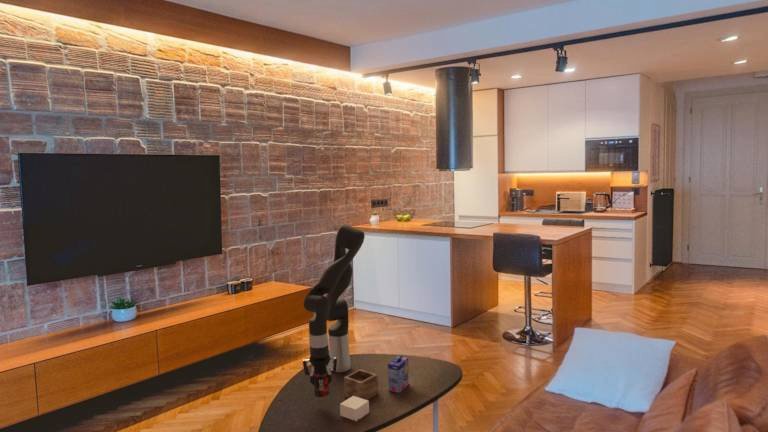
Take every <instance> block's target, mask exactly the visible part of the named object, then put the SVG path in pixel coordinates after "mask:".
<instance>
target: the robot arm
mask: <svg viewBox="0 0 768 432" xmlns="http://www.w3.org/2000/svg"><path fill="white" fill-rule="evenodd" d="M364 240H365V232H364V231H362V230H360V229H358V228H355V227H352V226H350V225H347V224H342V225H341V226H340V227H339V228H338V231H337V232H336V237H335V242H334V243H335V244H334V246H335V247H334V257H333V261H332V263H330V264H329V265H328V266H327V267H326V268H325V269H324V270H323V272H322V274H321V276H320V278H319V279H318V282H317V283H316V284H315V285H314V286H312V288H311V289H310V290H309V291H308V292H307V294H306V295H305V297H304V299H303V308H304V310H306V311H307V312H310V313H315V316H314V317H312V318H310V319H309V320H308V331H309V333H308V342H309V358H308V359H307V358H303V359H302V366H303V370H304V374H305V376H309V381H310V384H311V385H313V386H314V376H313V374H314V366H313V360H326V359H327V365H328V366H327V365H326V371H327V372H328V384H329V385H330V384H331V383H332V381H333V376H332V375H333V374H335V373H343V372H347V371H349V370H350V369H351V357H350V341H349V340H350V339H349V305H348V302H347V301H346V299H344V298H340V297H341V296H342V295H343V293H344V292H346V290H347V289H348V287H349V286H350V285H351V281H352V277H353V267H352V264H351V263H352V261H353V259H354V258H355V257H356V255H357V253H358V252H359V251H360V249H362V248H361V247H362V246H363V243H364ZM346 249H347V250H348V251H347V252H346ZM325 295H326V296H325ZM334 321H335V322H334ZM327 322H334V324H331V325H330V326H329V327H328V324H327ZM309 363H310V364H311V366H312V367H311V369H310V370H309V368H308V365H309Z"/></svg>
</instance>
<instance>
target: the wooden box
mask: <svg viewBox="0 0 768 432" xmlns="http://www.w3.org/2000/svg"><path fill="white" fill-rule="evenodd" d="M343 385H344V397H346V398H347V399H349V398H350V397H352V396H356V397H359V398H362V399H365V400H368V401H369V399H372V398H373V397H375V396H377V395H379V393H380V392H379V377H378V374H377V373H374V372H371V371H369V370H365V369H361V368H359V369H357V370H355V371H353V372H351V373H350V374H347V375H346V376H343Z"/></svg>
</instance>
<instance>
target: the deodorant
mask: <svg viewBox="0 0 768 432" xmlns="http://www.w3.org/2000/svg"><path fill="white" fill-rule="evenodd" d="M326 365H327V359H326V360H313V365H312V366H314V374H313V376H314V385H313V389H314V391H313V392H314V396H315V397H316V398H319V399H320V398H326V397H328V396H329V395H330V384H328V372H327V371H326ZM328 365H329V364H328ZM328 365H327V366H328Z"/></svg>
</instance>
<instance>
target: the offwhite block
mask: <svg viewBox="0 0 768 432" xmlns="http://www.w3.org/2000/svg"><path fill="white" fill-rule="evenodd" d="M339 412H340V417H343V418H346V419H349V420H352V421H354V420H355V421H354V422H357V421H359V420H361V419H362V418H363V417H365V416H366V415H368V414H369V413H370V401H369V399H368V400H365V399H362V398H359V397H356V396H352V397H350V398H347V399H346V400H344V401H342V402H341V403H340V404H339ZM358 419H359V420H358Z"/></svg>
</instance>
